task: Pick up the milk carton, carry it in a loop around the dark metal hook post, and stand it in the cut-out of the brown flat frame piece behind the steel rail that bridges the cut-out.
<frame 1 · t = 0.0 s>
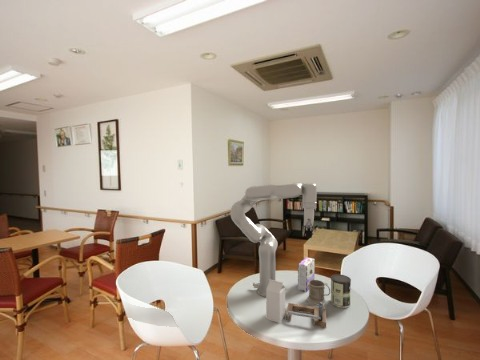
hand: (309, 235, 144), 37 cm above the table, tool pointing down, fingers open, 9 cm apart
rail: (304, 323, 123), on the table
candy box: (306, 286, 160), on the table
hook post: (320, 324, 122), resting on brown flat frame piece
brown flat frame piece: (305, 316, 128), on the table
milk carton: (275, 317, 128), on the table
coffee can: (340, 303, 141), on the table
mug: (319, 301, 143), on the table
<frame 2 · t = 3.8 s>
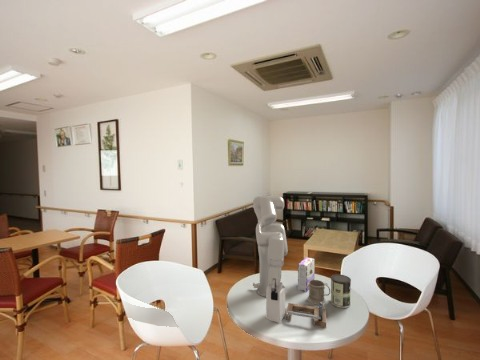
hand: (275, 295, 127), 12 cm above the table, tool pointing down, fingers closed on milk carton, 8 cm apart
milk carton: (275, 317, 128), on the table, touching gripper
everything else where it was.
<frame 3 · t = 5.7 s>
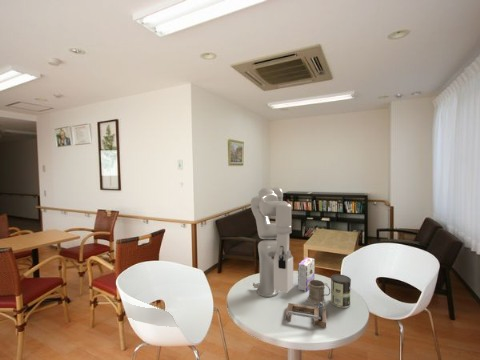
hand: (283, 264, 123), 28 cm above the table, tool pointing down, fingers closed on milk carton, 8 cm apart
milk carton: (283, 288, 123), point 17 cm above the table, touching gripper
everything else where it was.
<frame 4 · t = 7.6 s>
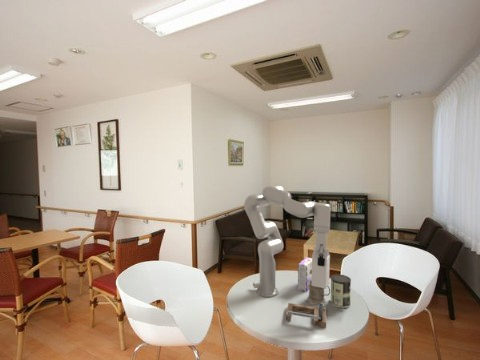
hand: (320, 262, 128), 28 cm above the table, tool pointing down, fingers closed on milk carton, 8 cm apart
milk carton: (320, 284, 129), point 16 cm above the table, touching gripper
everything else where it was.
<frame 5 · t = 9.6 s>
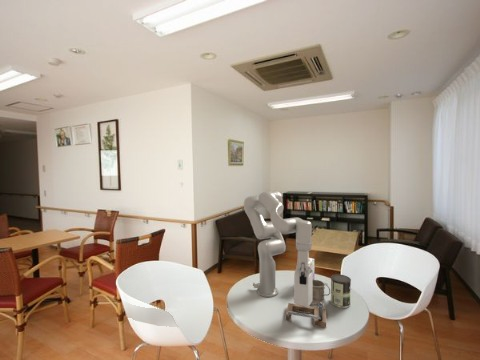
hand: (303, 280, 127), 19 cm above the table, tool pointing down, fingers closed on milk carton, 8 cm apart
milk carton: (303, 302, 128), point 7 cm above the table, touching gripper
everything else where it was.
when the fingers open (12 cm above the table, at t = 11.3 s): milk carton stays where it is, on the table.
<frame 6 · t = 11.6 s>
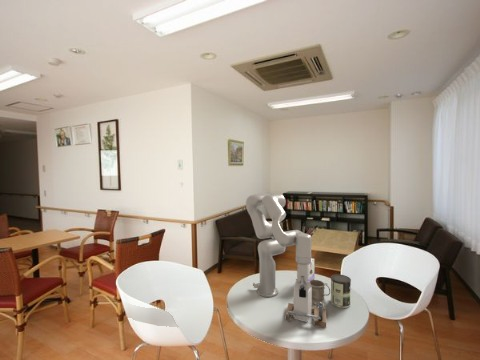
hand: (303, 292, 128), 13 cm above the table, tool pointing down, fingers open, 9 cm apart
milk carton: (302, 317, 128), on the table
everything else where it was.
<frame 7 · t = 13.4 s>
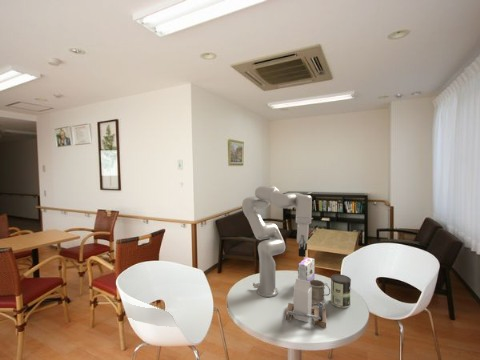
hand: (302, 253, 128), 32 cm above the table, tool pointing down, fingers open, 9 cm apart
nothing on the table moved.
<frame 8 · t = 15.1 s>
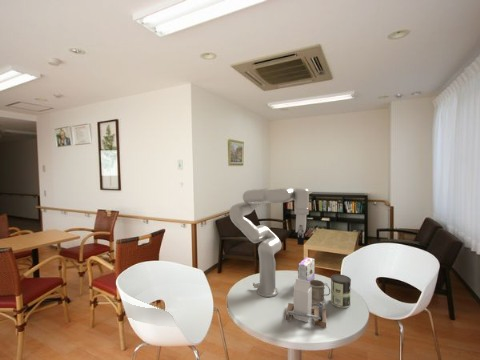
hand: (301, 241, 140), 34 cm above the table, tool pointing down, fingers open, 9 cm apart
nothing on the table moved.
at the end: milk carton inside the target area (0.2 cm from its centre), on the table; milk carton tilted 0°; the gripper is holding nothing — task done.
